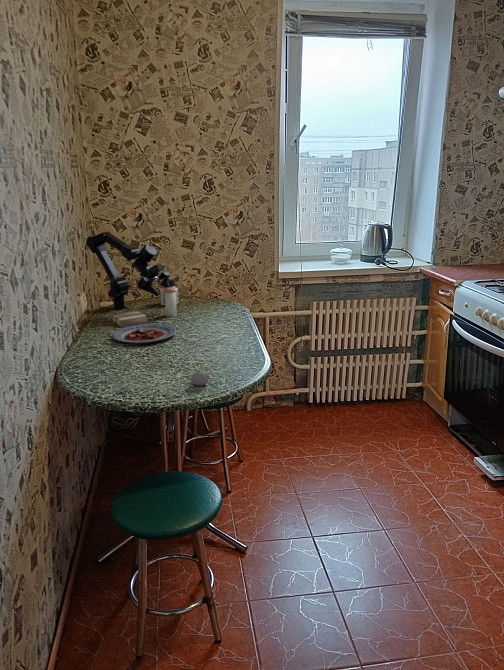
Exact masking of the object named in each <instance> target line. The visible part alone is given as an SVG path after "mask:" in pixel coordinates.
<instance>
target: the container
mask: <svg viewBox="0 0 504 670" xmlns="http://www.w3.org/2000/svg"><path fill="white" fill-rule="evenodd" d="M168 281H169V285H170V287H174V288H175V290H176V292H175V293H176V306H177V305H178V304H179V293H178V292H179V291H178V287H176V281H175V278H174V279H173V278H170V277H169V279H168ZM161 287H162V286H161ZM159 292H160V293H159V296H160V305H165V297H164V287H162V289H160V291H159Z"/></svg>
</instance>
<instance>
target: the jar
mask: <svg viewBox="0 0 504 670" xmlns="http://www.w3.org/2000/svg"><path fill="white" fill-rule="evenodd" d="M175 288H176V287H175ZM175 288H174V287H168V288H164V297H165V306H164V308H165V309H164V310H165V317H168V318H170V317H171V318H172V317H177V316H178V312H177V309H178V308H177V305H176V293H175V292H176V290H175Z"/></svg>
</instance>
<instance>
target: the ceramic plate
mask: <svg viewBox="0 0 504 670" xmlns="http://www.w3.org/2000/svg"><path fill="white" fill-rule="evenodd" d="M176 332H177V329H176V328H175V327H174V326H172V325H170V324H169V325H168V324H164V323H163V324H162V323H142V324H136V325H130V326H125V327H121V328H119V329H117V330H116V331H114V332H113V333H112V337H113V339H114V340H117V341H119V342H123V343H132V344H147V343H153V342H154V343H155V342H158V341H161V340H165V339H168V338H171V337H172V336H174V335H175V334H176Z"/></svg>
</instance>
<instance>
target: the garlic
mask: <svg viewBox="0 0 504 670" xmlns="http://www.w3.org/2000/svg"><path fill="white" fill-rule="evenodd" d="M209 380H210V375H209V373H208V372H207V371H205V370H200V369H197V370H195V371H193V372H192V374H191V376H190V382H191V384H192V385H194V386H204V385H206V384H207V383H208V382H209Z"/></svg>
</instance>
